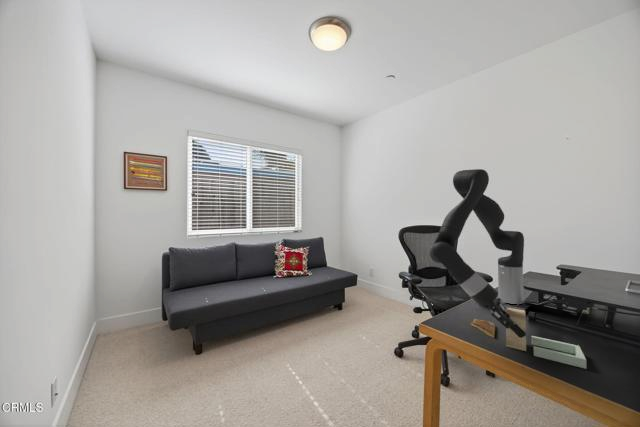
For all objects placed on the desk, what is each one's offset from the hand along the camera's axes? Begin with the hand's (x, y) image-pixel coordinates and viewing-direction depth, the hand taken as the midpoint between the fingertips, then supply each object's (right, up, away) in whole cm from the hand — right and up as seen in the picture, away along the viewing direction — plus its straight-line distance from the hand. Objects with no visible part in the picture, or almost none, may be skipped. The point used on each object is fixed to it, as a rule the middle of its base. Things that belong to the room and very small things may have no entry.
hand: (522, 332), depth 80 cm
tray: (+6, -5, -4) cm, 9 cm away
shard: (-3, -5, +12) cm, 14 cm away
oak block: (-1, -5, +1) cm, 5 cm away
